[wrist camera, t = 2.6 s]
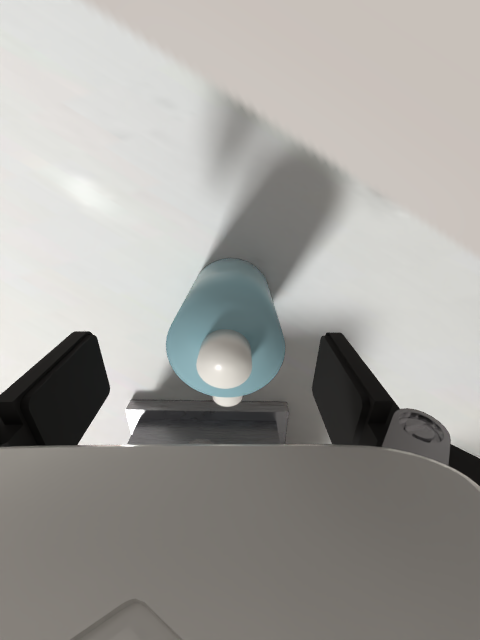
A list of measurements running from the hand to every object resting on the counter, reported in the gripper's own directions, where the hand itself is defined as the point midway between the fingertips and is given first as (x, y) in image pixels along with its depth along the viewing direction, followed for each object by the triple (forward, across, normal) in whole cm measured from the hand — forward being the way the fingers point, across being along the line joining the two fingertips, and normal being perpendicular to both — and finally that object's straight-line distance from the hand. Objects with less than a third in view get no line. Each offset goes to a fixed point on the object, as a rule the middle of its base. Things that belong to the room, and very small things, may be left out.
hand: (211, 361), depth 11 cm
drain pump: (+9, -1, 0) cm, 9 cm away
